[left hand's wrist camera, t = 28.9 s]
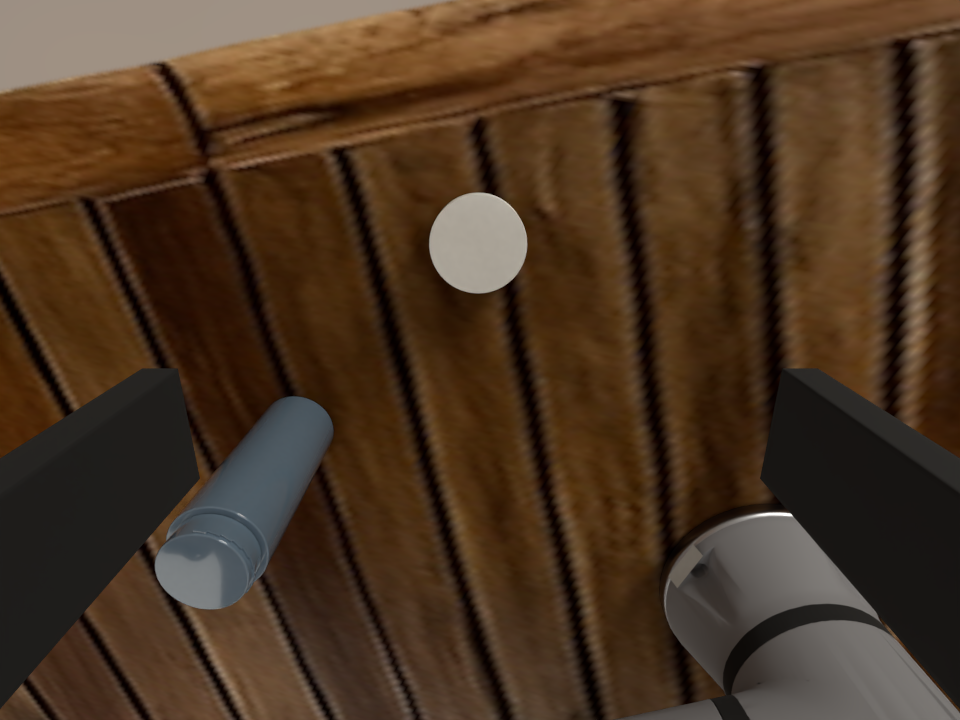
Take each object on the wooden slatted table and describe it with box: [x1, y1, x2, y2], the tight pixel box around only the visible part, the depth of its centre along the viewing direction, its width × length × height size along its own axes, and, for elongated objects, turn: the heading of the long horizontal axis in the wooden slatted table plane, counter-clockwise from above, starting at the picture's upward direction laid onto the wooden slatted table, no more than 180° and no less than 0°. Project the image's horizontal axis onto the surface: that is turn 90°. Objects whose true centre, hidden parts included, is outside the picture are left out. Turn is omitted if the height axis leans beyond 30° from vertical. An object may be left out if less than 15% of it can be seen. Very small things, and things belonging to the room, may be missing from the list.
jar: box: [155, 396, 333, 609], centre depth 34 cm, size 5×5×15 cm
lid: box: [429, 193, 527, 293], centre depth 36 cm, size 6×6×2 cm
